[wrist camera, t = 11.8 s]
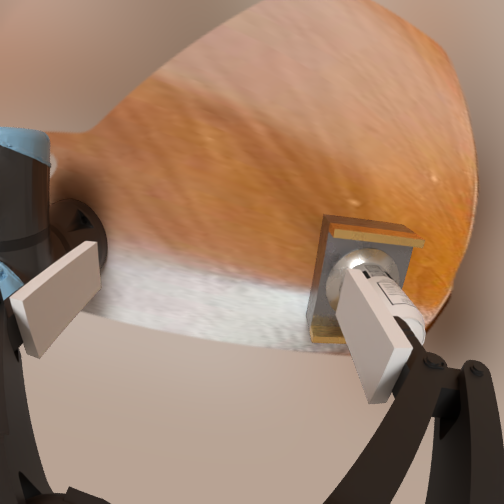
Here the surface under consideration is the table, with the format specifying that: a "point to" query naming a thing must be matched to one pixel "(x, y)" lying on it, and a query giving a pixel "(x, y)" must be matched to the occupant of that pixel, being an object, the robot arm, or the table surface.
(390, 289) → the supplement can
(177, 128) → the table surface
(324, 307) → the grey boxy piece
